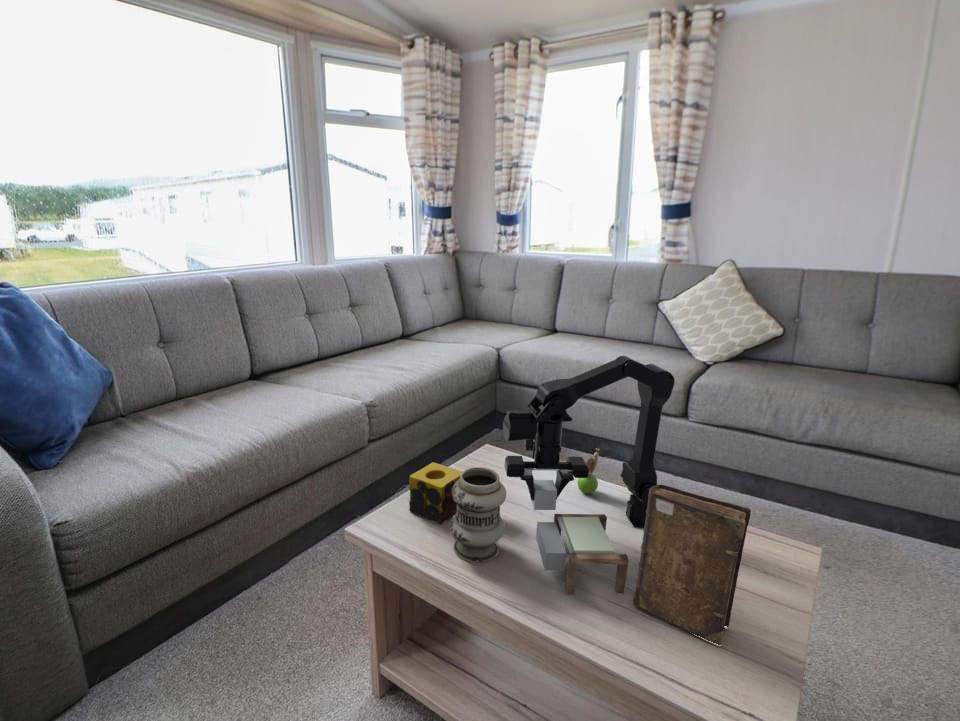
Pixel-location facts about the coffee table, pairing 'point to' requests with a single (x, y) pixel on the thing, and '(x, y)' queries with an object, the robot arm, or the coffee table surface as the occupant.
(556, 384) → the robot arm
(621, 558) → the walnut frame
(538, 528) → the trapdoor
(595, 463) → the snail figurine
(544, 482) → the slate grey block
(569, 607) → the coffee table surface
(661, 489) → the book
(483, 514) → the apothecary jar
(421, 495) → the candle
